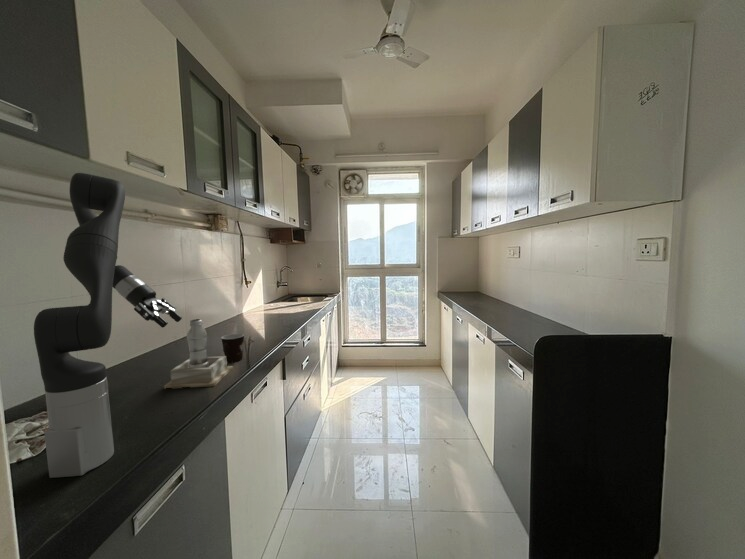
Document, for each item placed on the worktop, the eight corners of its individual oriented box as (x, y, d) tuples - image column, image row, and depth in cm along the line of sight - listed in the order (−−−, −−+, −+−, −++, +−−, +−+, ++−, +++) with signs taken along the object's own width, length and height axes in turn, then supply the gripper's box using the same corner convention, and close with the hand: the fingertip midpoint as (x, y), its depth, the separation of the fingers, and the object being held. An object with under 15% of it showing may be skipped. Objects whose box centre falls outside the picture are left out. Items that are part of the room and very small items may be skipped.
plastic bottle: (186, 380, 103) (182, 322, 102) (192, 373, 110) (188, 319, 108) (207, 377, 105) (203, 321, 104) (212, 370, 112) (208, 317, 110)
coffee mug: (235, 355, 132) (234, 332, 132) (249, 357, 129) (248, 334, 128) (211, 364, 122) (209, 339, 121) (226, 367, 118) (224, 342, 117)
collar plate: (214, 386, 101) (213, 370, 100) (164, 388, 99) (162, 372, 99) (232, 368, 117) (231, 354, 116) (189, 370, 115) (188, 356, 115)
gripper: (128, 285, 97) (168, 319, 99) (156, 281, 111) (191, 311, 113) (112, 302, 97) (152, 335, 99) (142, 296, 111) (177, 325, 113)
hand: (173, 322), depth 106 cm, fingers open, 8 cm apart
